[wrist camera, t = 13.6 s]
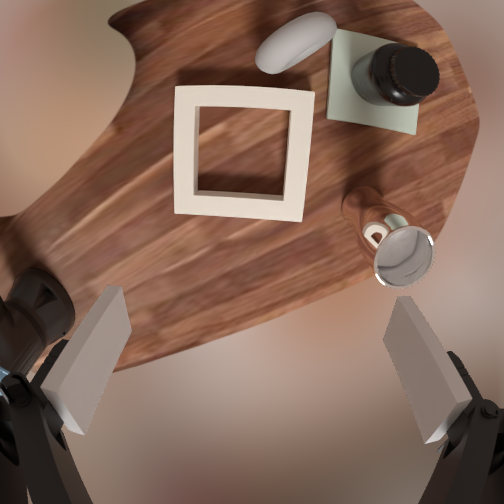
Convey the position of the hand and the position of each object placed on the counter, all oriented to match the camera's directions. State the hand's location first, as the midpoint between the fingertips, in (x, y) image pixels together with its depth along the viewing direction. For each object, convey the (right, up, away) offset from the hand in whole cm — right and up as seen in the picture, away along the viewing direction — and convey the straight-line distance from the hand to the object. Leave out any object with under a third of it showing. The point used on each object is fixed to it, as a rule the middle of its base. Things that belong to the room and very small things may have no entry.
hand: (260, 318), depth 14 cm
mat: (+15, +24, +18) cm, 33 cm away
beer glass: (+14, +9, +25) cm, 31 cm away
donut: (+5, +27, +17) cm, 32 cm away
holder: (-2, +16, +23) cm, 28 cm away
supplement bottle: (+15, +24, +17) cm, 33 cm away
